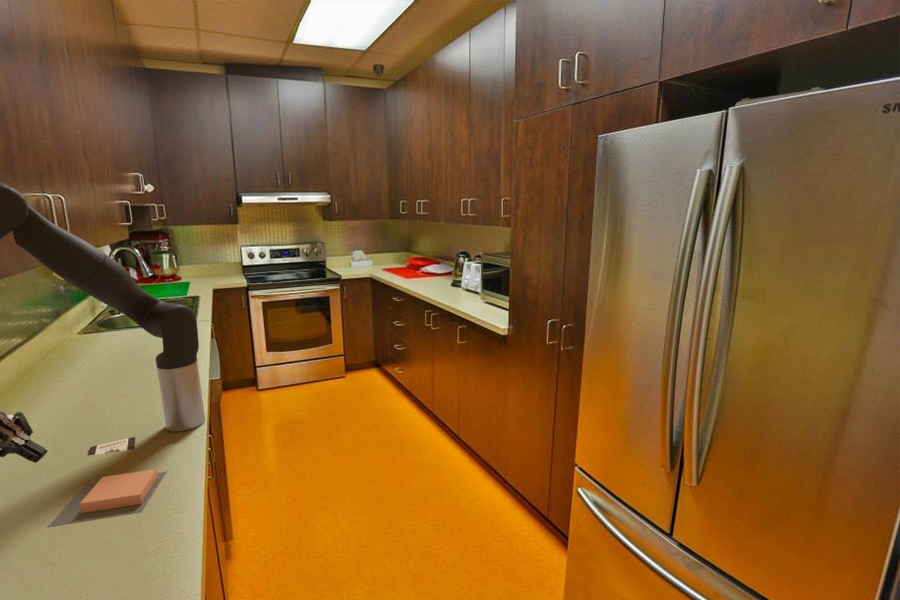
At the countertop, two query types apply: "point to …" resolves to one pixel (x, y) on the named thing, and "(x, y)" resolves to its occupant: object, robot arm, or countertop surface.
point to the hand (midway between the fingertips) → (42, 456)
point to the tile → (119, 491)
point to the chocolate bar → (113, 446)
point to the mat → (74, 511)
